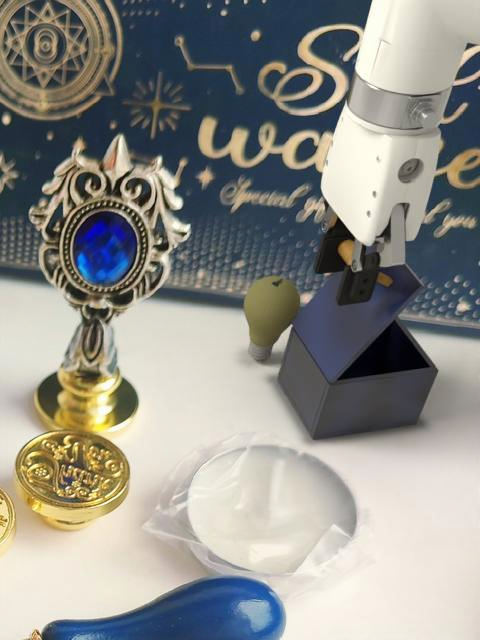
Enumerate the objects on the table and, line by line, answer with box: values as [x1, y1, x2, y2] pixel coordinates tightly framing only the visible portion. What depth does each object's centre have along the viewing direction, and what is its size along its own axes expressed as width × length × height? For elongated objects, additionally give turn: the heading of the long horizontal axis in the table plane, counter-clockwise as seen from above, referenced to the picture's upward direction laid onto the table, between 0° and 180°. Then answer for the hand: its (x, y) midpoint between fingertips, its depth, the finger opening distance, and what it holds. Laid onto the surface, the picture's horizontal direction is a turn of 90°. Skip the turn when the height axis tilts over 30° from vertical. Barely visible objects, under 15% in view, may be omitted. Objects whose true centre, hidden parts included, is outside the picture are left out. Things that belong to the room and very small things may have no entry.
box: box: [276, 315, 440, 440], centre depth 108 cm, size 11×9×7 cm
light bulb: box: [243, 275, 301, 362], centre depth 112 cm, size 6×6×10 cm
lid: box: [291, 240, 426, 383], centre depth 100 cm, size 12×9×5 cm
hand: (341, 284), depth 99 cm, fingers closed on lid, 4 cm apart
